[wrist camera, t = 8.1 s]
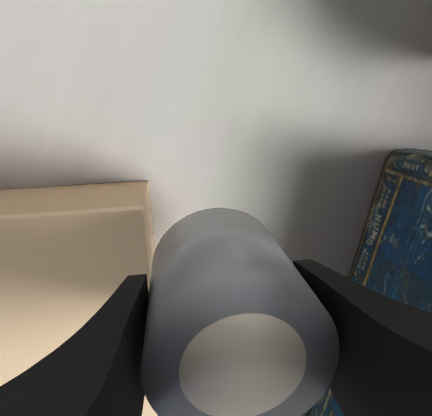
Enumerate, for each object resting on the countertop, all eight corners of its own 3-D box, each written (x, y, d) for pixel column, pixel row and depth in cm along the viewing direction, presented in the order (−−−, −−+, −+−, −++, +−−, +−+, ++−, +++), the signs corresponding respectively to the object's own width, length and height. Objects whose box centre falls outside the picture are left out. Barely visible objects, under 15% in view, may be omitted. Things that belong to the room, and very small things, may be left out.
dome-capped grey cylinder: (277, 317, 14) (331, 430, 9) (156, 329, 14) (149, 456, 9) (282, 204, 13) (351, 271, 8) (146, 212, 12) (129, 290, 7)
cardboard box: (165, 354, 23) (164, 412, 18) (-78, 382, 21) (-139, 454, 17) (148, 180, 19) (141, 206, 14) (-154, 198, 17) (-259, 233, 13)
